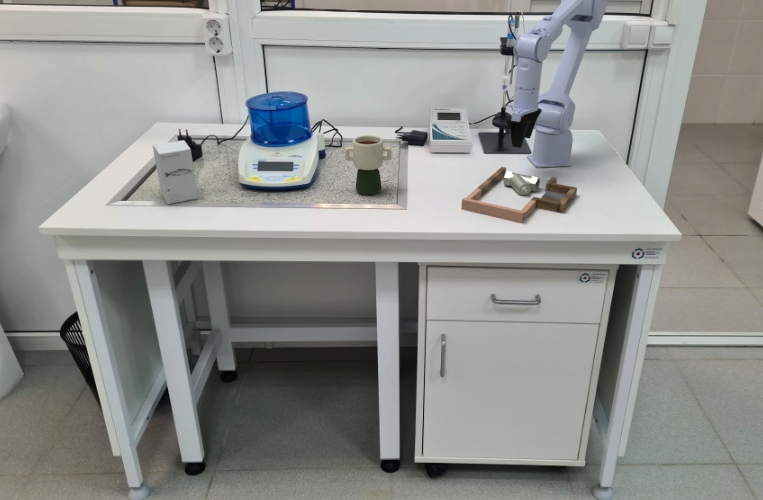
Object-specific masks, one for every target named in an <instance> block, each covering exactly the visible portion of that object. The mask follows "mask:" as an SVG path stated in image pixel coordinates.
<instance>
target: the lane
mask: <svg viewBox="0 0 763 500" xmlns="http://www.w3.org/2000/svg"><path fill="white" fill-rule="evenodd" d="M506 172H507V167H505V166H501V167H500V168H498V170H496V171H495V172H494V173H493V174H491V176H489V177H488V178H487V179H485V180H484V181H483V182H482V183H481V184H480V185H478V187H477V188H479V189H482V191H481V197H483V195H485V194H486V193H487V192H488V191H489V190H490V189H492V188H493V187H494V186H495V185H496V184H497V183H498V182H499V181H501V180H502V179H504V176H505V174H506ZM557 182H558V177H555V176H551V177H550V178H549V180H548V181H547V182H546V183H545V187H544V191H545V193H543V195H542V196H541V197H537V196H533V197H532V198H531V199H530V200H534V201H536V204H535V209H536V208H537V209H542V210H545V211H550V212H554V213H559V214H563V213H564V212H565V210H566V209H567V208H568V206H569V205H570V204H571V203H572V201H573V200H574V199H575V198H576V196H577V193H578V187H577V186H576V187H575V186H572V185H571V186H570V185H565V184H562V183H561V184H560V183H557ZM481 197H480V198H481Z"/></svg>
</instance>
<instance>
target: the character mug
mask: <svg viewBox="0 0 763 500" xmlns="http://www.w3.org/2000/svg"><path fill="white" fill-rule="evenodd" d="M350 152H352V156H350ZM384 152H386V156H384ZM344 159H345V161H347V162H348V161H350V162H351V161H353V165H354V167H355V168H357V171H356V179H355V190H356V191H357V192H358V193H360V194H363V195H373V194H376V193H379V192H380V191H381V190H382V188H383V187H382V180H381V174H380V173H381V172H380V170H379V169H380V168H381V167H382V166H383V163H384V161H390V160H392V148H391V147H390V146H384V139H383V138H382V137H380V136H377V135H371V134H366V135H365V134H364V135H359V136H356V137H354V138H353V139H352V146H346V147H345V148H344Z"/></svg>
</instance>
